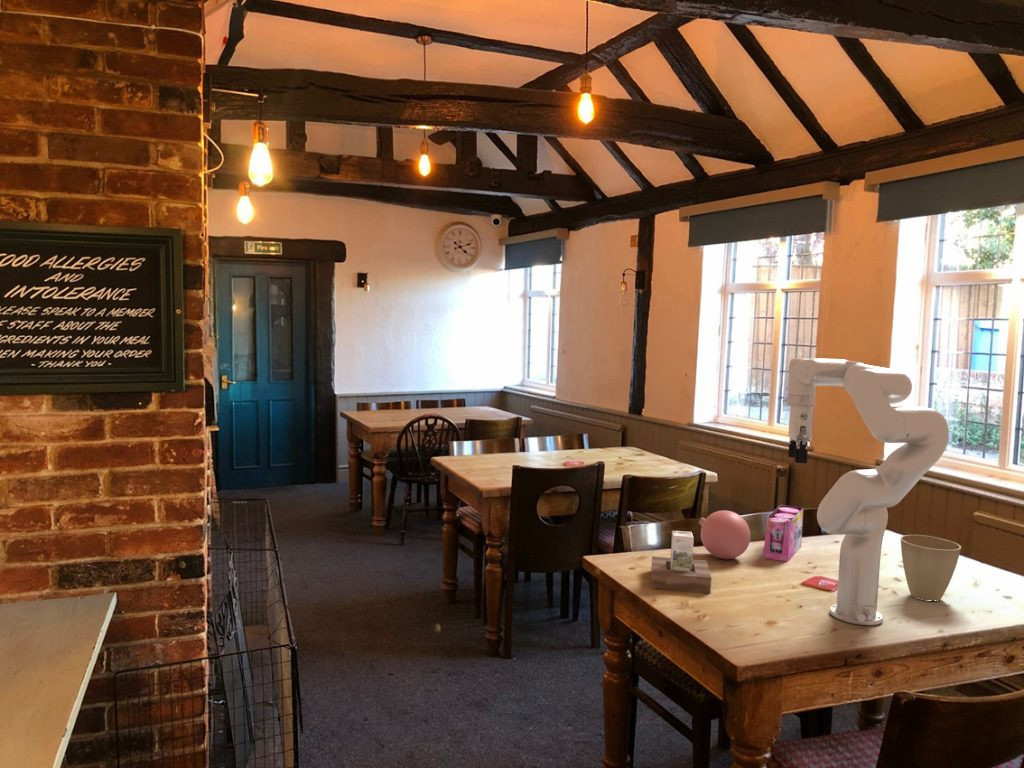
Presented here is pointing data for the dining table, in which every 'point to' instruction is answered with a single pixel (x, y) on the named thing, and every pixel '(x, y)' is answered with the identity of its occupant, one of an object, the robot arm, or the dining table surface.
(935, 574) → the plant pot
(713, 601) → the dining table surface
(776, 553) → the gum box
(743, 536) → the balloon
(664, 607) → the dining table surface
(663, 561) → the walnut stand
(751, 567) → the dining table surface
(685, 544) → the syrup box
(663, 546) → the dining table surface
